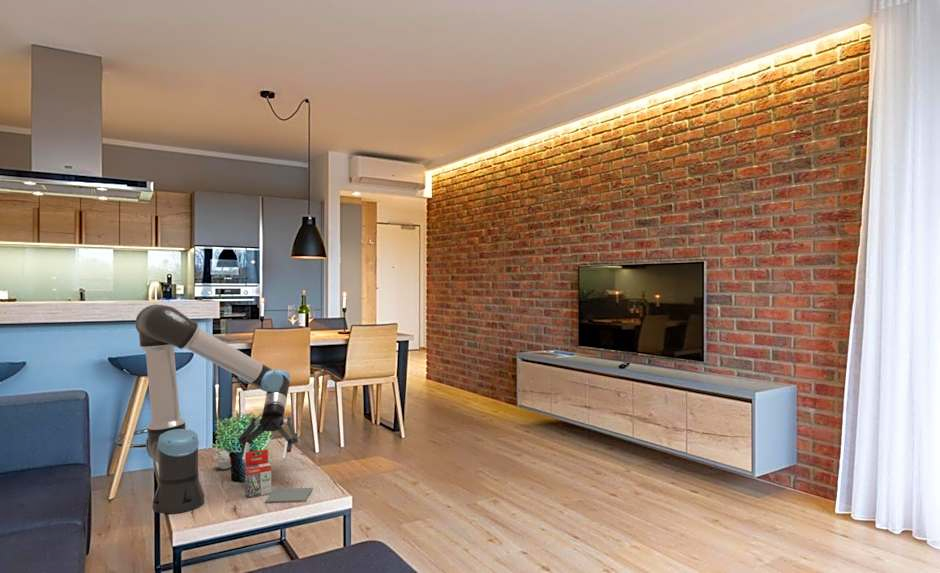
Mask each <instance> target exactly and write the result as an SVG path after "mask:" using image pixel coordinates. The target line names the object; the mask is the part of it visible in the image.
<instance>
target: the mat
mask: <svg viewBox="0 0 940 573" xmlns="http://www.w3.org/2000/svg"><path fill="white" fill-rule="evenodd" d="M312 489H314V487H293V488H292V487H290V488H287V487H286V488H274V489H273V490H272V491H271V494H269V496H268V497H267V499H266V500H265V501H264V504H278V503H279V504H283V503H285V502H288V503H302V502H301V501H306V500H307V501H308V499H309V497H310V495H311V493H312V492H311V491H313V490H312ZM308 496H309V497H308ZM307 498H308V499H307ZM307 501H306V502H307Z"/></svg>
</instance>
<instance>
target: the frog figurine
mask: <svg viewBox="0 0 940 573" xmlns="http://www.w3.org/2000/svg"><path fill="white" fill-rule="evenodd" d="M225 451H226V450H221V451H219V452H217V453H216V454H215V456H214V457H215V458H214V459H215V461H216V462H217V465H218V467H219V469H221V470H228V469H229V468H231V467H230V457H229V454H230V453H229V452H228V451H226V452H225ZM228 453H229V454H228Z"/></svg>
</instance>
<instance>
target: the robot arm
mask: <svg viewBox="0 0 940 573" xmlns="http://www.w3.org/2000/svg"><path fill="white" fill-rule="evenodd" d="M135 329H136V330H137V333H138V335H139V336H138V337H139V347H140V348H141V349H142V350H143V351H145V359H146V369H147V370H146V371H147V381H148V393H149V404H150V405H149V406H150V416H151V421H150V423H149V424H148V425H147V426H146V428H147V429H146V430H147V431H146V432H147V438H146V441H145V449H146V453H147V455H148V456H149V457H150V458H151V459H152V460H154V461H155V463H157V466H158V467H157V468H158V485H157V487H156V491H155V494H154V497H153V500H152V510H153V512H155V513H158V514H165V515H166V514H168V513H171V514H178V513H184V512H188V511H189V512H190V511H191V509H192V510H194V508H195V509H197V508H199V507H200V506H202V505H204V503H205V493H204V490H203V487H202V485H201V482H200V479H199V445H200V444H199V437H198V434H197V432H195V431H194V430H192V429H186V420H185V419H183V418H182V417H181V415H180V404H179V392H178V381H177V368H176V357H175V347H176V348H178V349H180V350H184V349H187V350H188V351H190V352H193V354H196V355H198V356H199V357H201V358H204V359H205V360H208V362H211V363H213V364H214V365H215V366H216V365H217V366H218V367H220V368H221V369H224V370H226V371H228V372H229V373H231V374H234V375H235V376H237V379H238V380H239V381H241V382H242V383H244V384H248V385H249V386H251V387H254V388H257V389H259V390H261V391H263V392H266V394H265V396H266V397H265V401H264V404H263V406H264V407H263V410H262V414H261V418H260V419H256V417H253V418H252V419H251V421H250V424H249V425H248V426H247V427H246V429H245V430H244V431H243V433H242V434H241V435H240V436H239V437H238V438H237V441H238V443H239V444H240V445H242V446H241V453H242V458H241V459H242V462H243V463H244V464H246V452H250V444H251V443H252V442H253V441H254V440H256V438H258V437H259V436H260V435H261V434H263V433H265V432H273V433H275V432H276V431H278V433H279V434H280V435H281V436H282V437H283V439H285V442H284V448H283V455H282V459H283V462H284V463H287V460H288V454H289V453H291V452H292V446H293V444H297V443H298V442H299V440H298V437H297V434H296V432H295V430H294V428H293V422H292V418H291V417H290V416H288V417H287V418H284V417H285V411H286V404H287V401H288V400H287V399H288V393H289V389H290V384H291V383H290V382H291V375H290V373H289V372H288V371H287V370H285V369H281V368H278V369H272V368H271V367H268V366H267V365H265V364H263V363H262V362H260V361H258V360H257V359H255V358H252V357H251V356H249V355H247V354H246V353H243V352H242V351H240V350H239V349H237V348H235V347H233V346H232V345H230V344H228V343H226V342H224V341H222V340H221V339H219V338H217V337H215V335H212V334H210V333H209V332H206V331H205V330H203V329H201V328H200V326H199V324H198V323H197V322H195V321H194V320H192V319H190V318H189V317H188V316H186V315H185V314H183V313H182V312H181V311H179V310H178V309H176V308H175V307H173V306H169V305H164V304H150V305H149V306H146V307H144V308H143V309H141V310H140V311H139V313H138V314H137V315H136V318H135ZM284 424H285V425H286V426H288V427H287V428H288V430H289V432H290V434H291V437H290V435H289V434H288V432H287V431H285V429H284V428H283V427H282V426H283V425H284ZM256 427H257V428H256ZM253 429H254V430H253Z"/></svg>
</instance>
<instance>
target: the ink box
mask: <svg viewBox="0 0 940 573" xmlns="http://www.w3.org/2000/svg"><path fill="white" fill-rule="evenodd" d="M257 453H259V454H257ZM260 453H261V454H260ZM254 454H255V455H254ZM244 464H245V466H244V472H245V473H244V485H245V487H244V492H245V493H244V495H245V497H247V499H251V498H256V497H259V496H265V495H270V494H271V493H272V465H271V464H270V463H269V449H268V448H267V449H259V450H253V451H249V452H246V463H244Z"/></svg>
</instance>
